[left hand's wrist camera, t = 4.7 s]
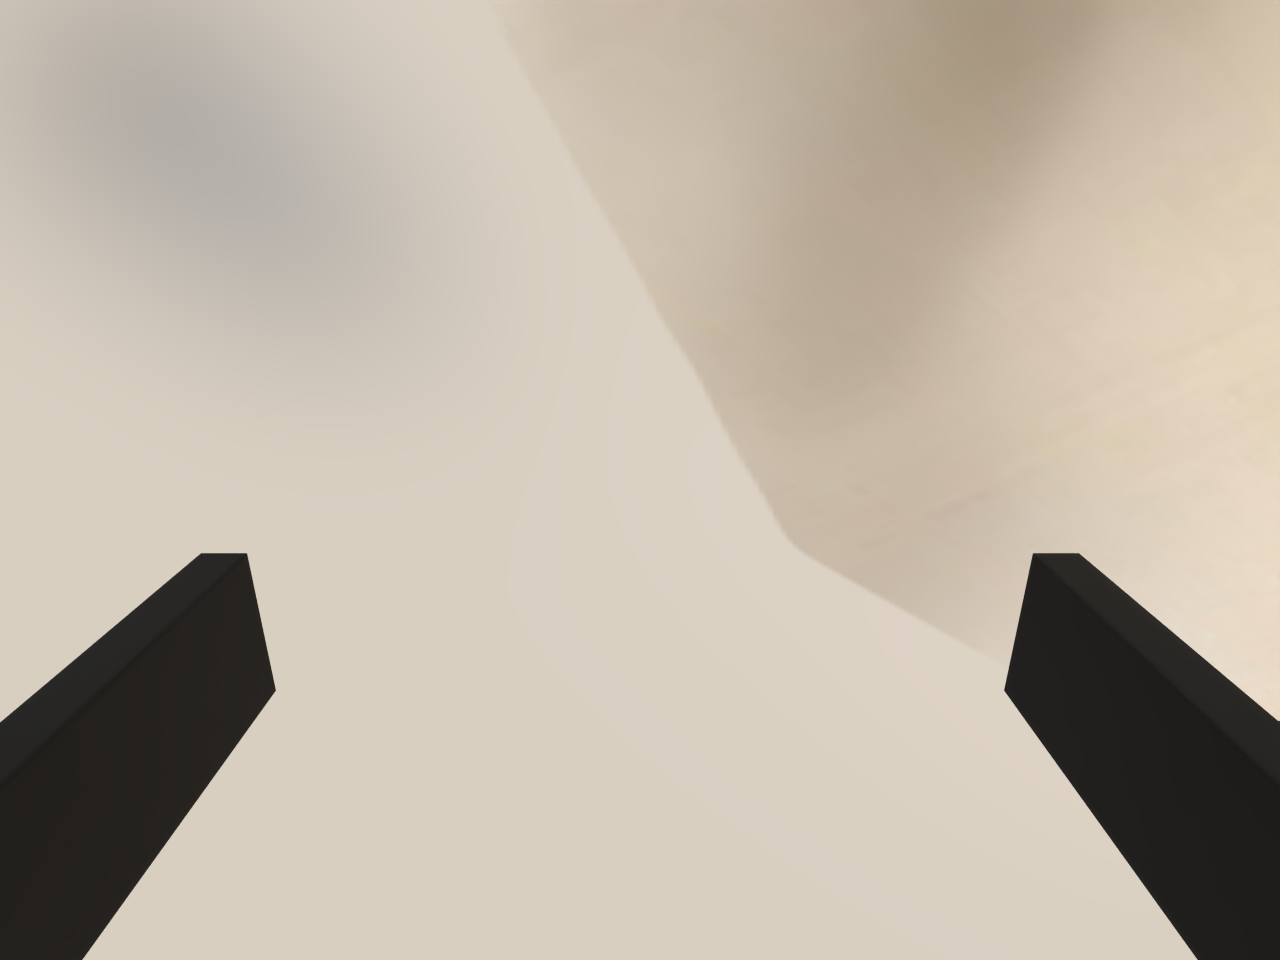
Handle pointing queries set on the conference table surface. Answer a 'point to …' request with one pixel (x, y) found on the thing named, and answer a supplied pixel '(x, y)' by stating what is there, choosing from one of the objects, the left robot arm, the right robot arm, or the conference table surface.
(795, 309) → the conference table surface
